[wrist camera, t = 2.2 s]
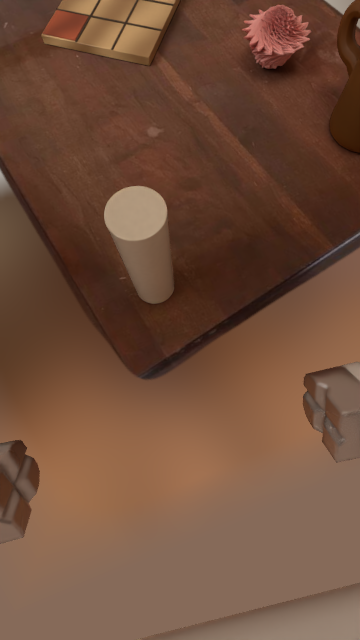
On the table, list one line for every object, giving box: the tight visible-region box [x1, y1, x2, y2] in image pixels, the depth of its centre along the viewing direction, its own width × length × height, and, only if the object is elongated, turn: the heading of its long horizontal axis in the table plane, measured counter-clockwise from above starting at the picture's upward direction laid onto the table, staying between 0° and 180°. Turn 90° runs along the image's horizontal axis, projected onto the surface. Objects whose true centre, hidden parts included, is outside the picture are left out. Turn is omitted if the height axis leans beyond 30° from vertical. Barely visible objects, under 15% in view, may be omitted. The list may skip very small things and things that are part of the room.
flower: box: [242, 5, 311, 70], centre depth 35 cm, size 8×8×6 cm
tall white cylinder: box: [104, 186, 175, 304], centre depth 24 cm, size 4×4×12 cm
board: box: [41, 0, 180, 66], centre depth 40 cm, size 15×15×1 cm
